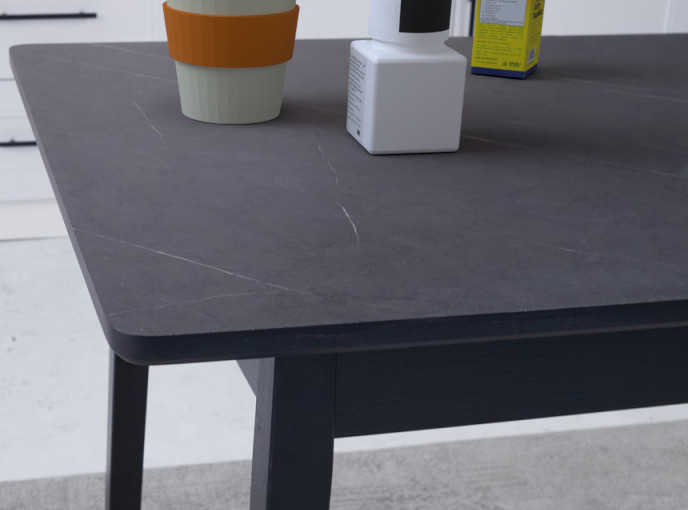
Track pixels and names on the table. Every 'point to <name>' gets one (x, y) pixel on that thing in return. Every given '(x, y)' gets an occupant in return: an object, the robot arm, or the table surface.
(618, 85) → the table surface
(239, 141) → the table surface
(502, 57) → the supplement box
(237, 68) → the reusable coffee cup
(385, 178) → the table surface
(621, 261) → the table surface
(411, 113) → the container
